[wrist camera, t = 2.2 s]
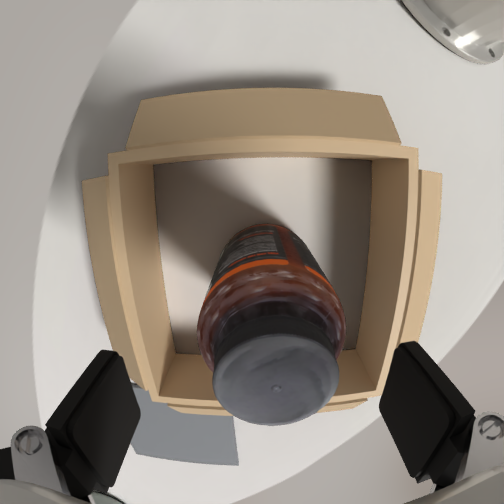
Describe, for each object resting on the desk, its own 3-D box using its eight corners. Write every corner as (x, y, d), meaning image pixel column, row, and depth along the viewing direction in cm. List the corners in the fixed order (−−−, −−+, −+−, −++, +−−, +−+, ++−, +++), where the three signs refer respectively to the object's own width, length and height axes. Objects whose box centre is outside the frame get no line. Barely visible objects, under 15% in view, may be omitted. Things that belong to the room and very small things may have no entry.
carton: (414, 114, 16) (458, 102, 11) (386, 376, 21) (407, 416, 16) (105, 120, 16) (61, 109, 11) (144, 382, 22) (125, 423, 17)
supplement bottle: (201, 268, 19) (141, 383, 8) (264, 202, 18) (274, 252, 7) (266, 323, 20) (273, 458, 9) (329, 264, 19) (402, 373, 8)
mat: (230, 392, 22) (229, 395, 21) (238, 462, 25) (238, 465, 25) (103, 379, 22) (102, 382, 22) (137, 451, 25) (136, 453, 25)
